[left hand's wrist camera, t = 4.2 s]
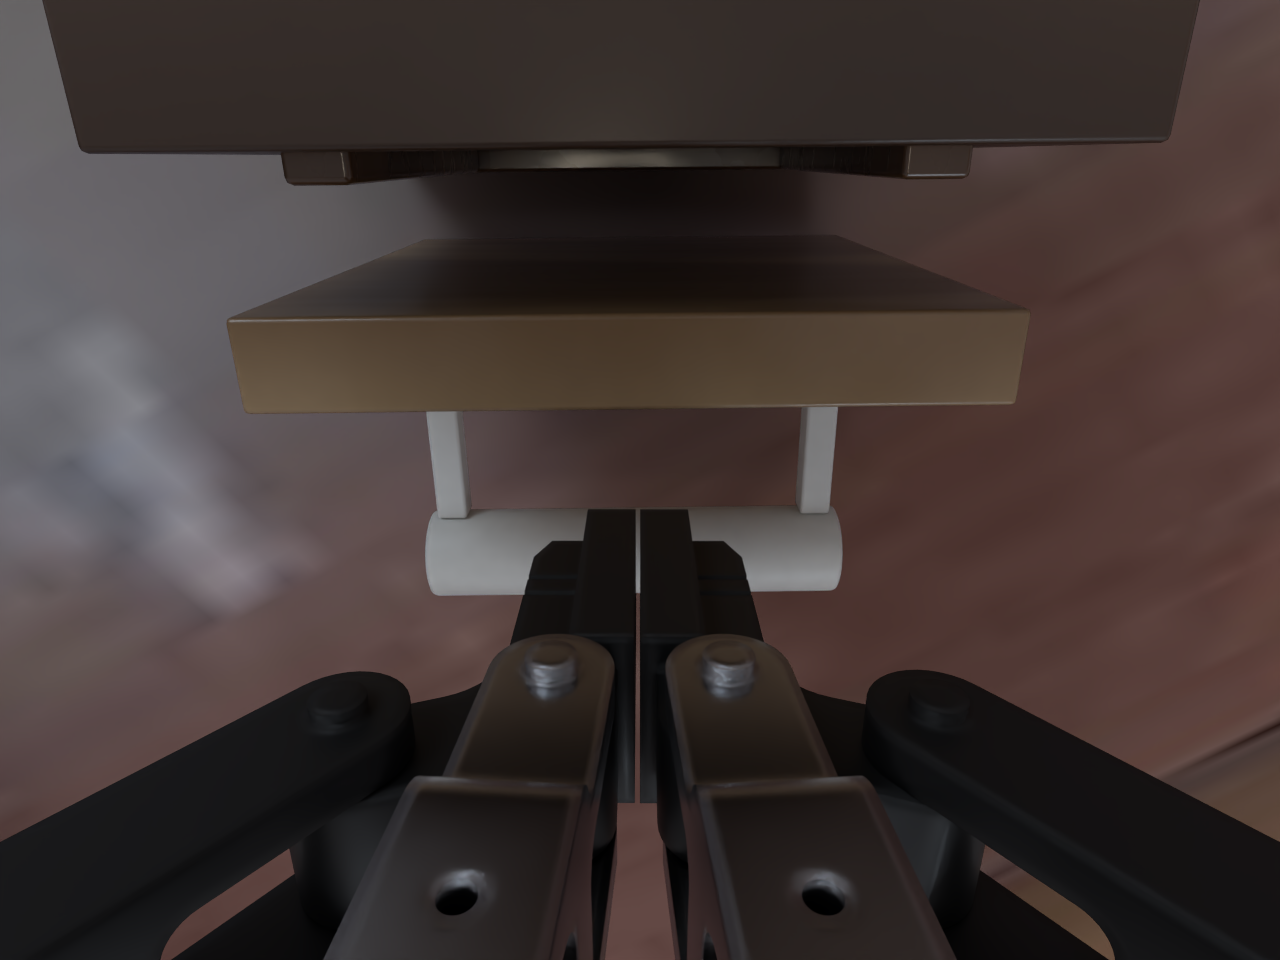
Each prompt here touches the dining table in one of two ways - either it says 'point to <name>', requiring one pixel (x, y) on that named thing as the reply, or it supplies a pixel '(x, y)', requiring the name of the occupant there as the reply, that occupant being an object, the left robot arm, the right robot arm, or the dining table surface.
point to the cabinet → (615, 73)
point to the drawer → (629, 345)
